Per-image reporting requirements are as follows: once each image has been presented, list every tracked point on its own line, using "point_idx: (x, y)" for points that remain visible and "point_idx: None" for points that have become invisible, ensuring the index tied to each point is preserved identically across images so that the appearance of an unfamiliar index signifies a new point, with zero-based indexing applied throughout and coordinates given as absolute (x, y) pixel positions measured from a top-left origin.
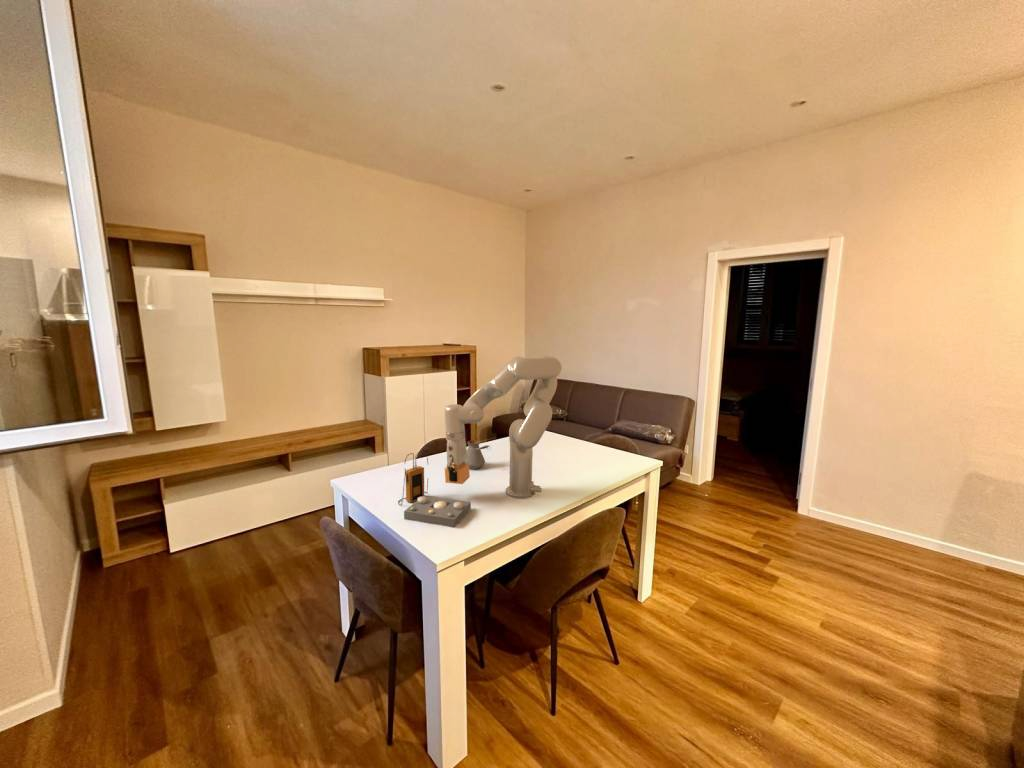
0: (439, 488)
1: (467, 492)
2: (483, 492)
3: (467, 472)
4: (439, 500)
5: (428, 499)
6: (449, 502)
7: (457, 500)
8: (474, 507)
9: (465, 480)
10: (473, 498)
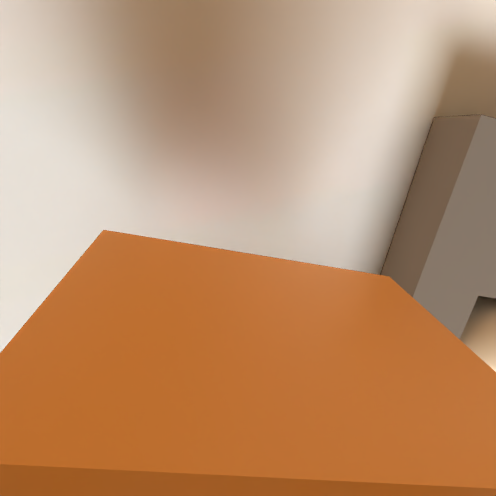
0: None
1: (86, 216)
2: (41, 46)
3: (184, 299)
4: None
5: None
6: (472, 306)
7: (439, 251)
8: (398, 89)
9: (283, 264)
10: (211, 132)
